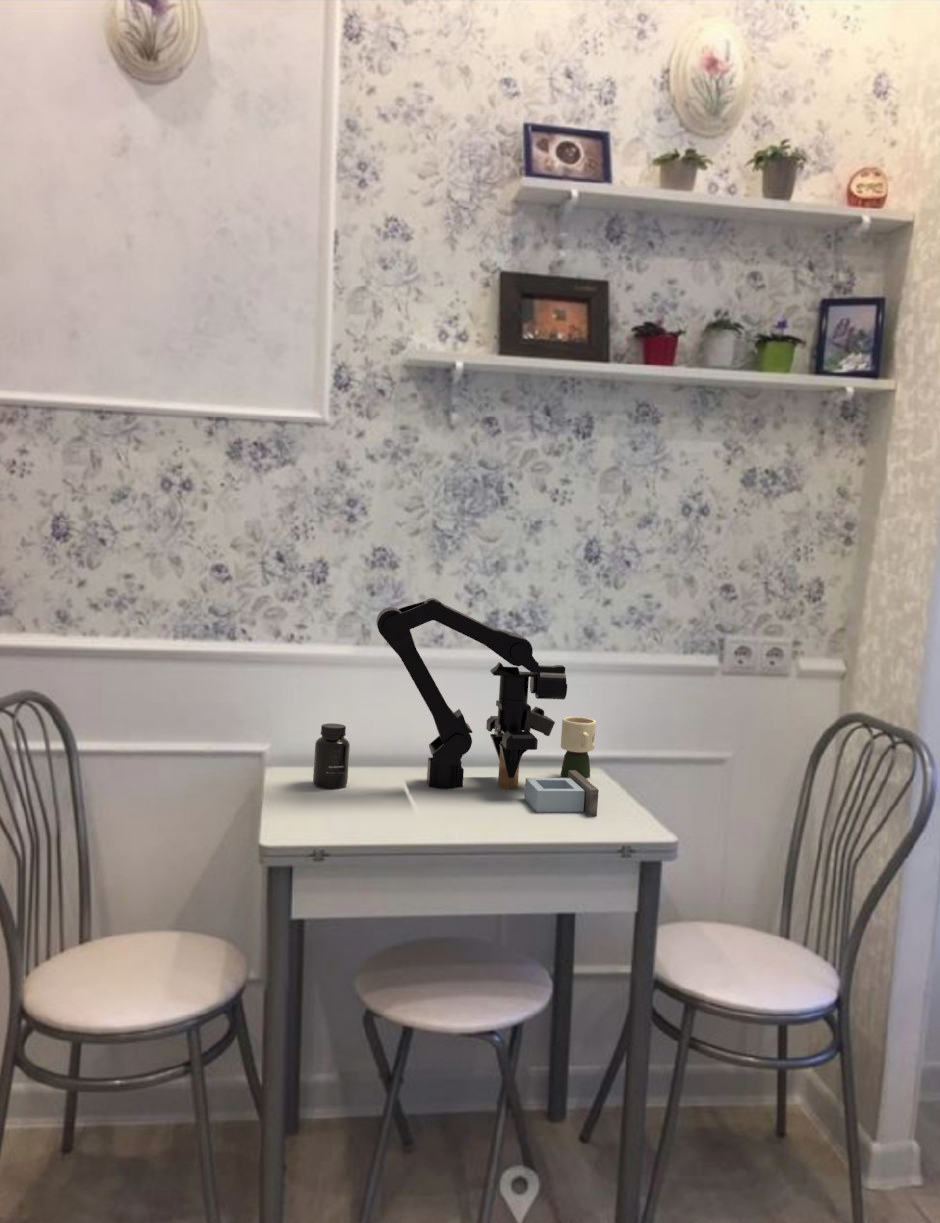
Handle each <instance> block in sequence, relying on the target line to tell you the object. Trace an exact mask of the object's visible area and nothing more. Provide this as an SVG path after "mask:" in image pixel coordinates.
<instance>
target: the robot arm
mask: <svg viewBox="0 0 940 1223" xmlns="http://www.w3.org/2000/svg"><path fill="white" fill-rule="evenodd" d="M432 621H436V622H437V623H439V624H441V625H443V626H446V627H448V628H449V629H451V630H453V631H455V632H458V633H460V634H462V635H464V636H466V637H468V638H470V639H472V640H474V641H476V642H477V643H480V644H482V645H484V646H485V647H487V648H488V649H490V650H491V651H492V652H494V653H495V654H496V655H498V657H500V658H502V659H503V660H504V661H505V662H507V663H509V664H510V665H512V666H503V664H502V662H497V664H496V665H495V666H494V667H492V668H491V669H490V671H489V672H490V673H491V675H493V677H494V676H496V677H499V688H498V689H499V693H498V700H497V699H496V701H495V706H496V707H497V715H490V716H489V717H488V718H487V719H486V724H485V727H486V730H487V731H488V732H493V730H494V732H493V733H491V734H490V738H491V740H492V743H493V747H494V748H495V752H496V755H497V758H498V761H499V760H500V749H501V753H502V756H503V760H504V763H505V767H506V771H507V774H508V777H509V778H514V776H515V774H516V771H517V768H518V765H519V766H520V761H521V759H522V756H523V755H524V753H526V752H527V751H534V750H535V751H536V750H538V741H539V740H538V738H537V737H536V736H535V735H534V734H533V733H532V732H531V729H532V730H534V731H537V732H538V733H542V734H543V735H544V736H547V737H550V736H551V733H552V730H553V728H554V726H555V723H556V721H555V720H553V719H552V718H551V717H548V716H546V715H545V710H544V709H542V708H541V707H538V706H534V708H532V707H531V705H530V704H528V699H529V698H528V696H529V695H528V694H529V692H530V694H532V695H533V694H534V696H535V699H537V700H539V699H540V700H542V699H543V700H561V701H562V700H565V699H566V697H567V692H568V683H567V675H566V667H565V665H563V664H555V665H542V664H541V665H540V664H539V663H540V662H538V661H537V660H536V659H535V657H534V656H533V650H534V649H533V646H532V644H531V642H530V641H529V640H528V639H526V637H524V636H522V635H521V634H518V633H515V632H511V631H508V630H505V629H501V628H497V627H493V626H490V625H487V624H486V623H484V622H481V621H479V620H477V619H475V618H474V617H471V616H469V615H468V614H465V613H463V612H461V611H460V610H459V611H458V610H457V609H454V608H453V607H451V606H449V605H446V604H445V603H443V602H441V601H440V600H439V599H437V598H434V597H431V598H430V597H429V598H427V599H426V600H424V601H420V602H417V603H413V604H410V605H409V604H408V605H407V606H403V607H400V608H396V607H393V606H392V607H389V606H388V607H386V608H383V609H382V610H381V611H379V613H378V615H377V618H376V626H377V631H378V633H379V634H380V635H381V636H382V638H383V639H384V640H385V642H386V643H387V644H388V645H389V646H390V647H391V649H393V651H394V653H396V654H397V655H398V657H399V658H400V659H401V662H402V663H403V665H404V666H405V669H406V671H407V672H408V674H409V676H410V678H411V679H412V681H413V683H414V685H415V687H416V689H417V690H418V692H419V694H420V696H421V697H422V699H423V701H424V703H425V704H426V706H427V708H428V710H429V711H430V713H431V715H432V717H433V721H434V724H435V726H436V730H437V733H438V736H437V737H436V738H435V739H434V740H432V741H431V743H429V744H428V747H429V751H430V754H431V756H432V757H427V772H426V785H427V786H428V788H433V789H439V790H453V789H456V788H463V787H464V770H465V769H464V767H463V766H462V758H463V756H464V755H466V754H467V753H468V752H469V751H470V749H471V747H472V746H473V745H472V744H473V739H472V735H471V734H473V730H472V729H471V726H470V725H469V723H467V721H466V720H465V717H464V714H463V712H462V711H461V709H460V708H458V709H457V710H456V711H453V710H452V709H451V707H450V706H449V705H448V703H447V702H446V700H445V699H444V697H443V695H442V693H441V691H440V689H439V688H438V686H437V684H436V682H435V680H434V678H433V676H432V675H431V673H430V671H429V669H428V667H427V665H426V664H425V662H424V660H423V658H422V657H421V655H420V653H419V651H418V649H417V647H416V644H415V641H414V638H413V635H412V632H411V629H415V628H417V627H420V626H422V625H424V624H427V623H428V622H432ZM520 666H521V667H524V668H525V669H526V670H528V671H520V669H519V667H520ZM501 741H502V743H503V744H500V743H501Z"/></svg>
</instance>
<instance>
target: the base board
mask: <svg viewBox="0 0 940 1223" xmlns="http://www.w3.org/2000/svg"><path fill="white" fill-rule="evenodd" d="M568 778H571V779H572V780H573V781H574V782H575V783H576V784H578V785H579V786H580V787H581V788H582V789H583V790H584V791H585V796H584V810H583V812H584V813H585V814H586V815H587V816H588V817H597V816H598V805H599V804H598V803H599V789H598V788H597V787H596V786H595V785H594V784H593V783H591V782H590V781H589V780H588V779H587V778H586V779H585V778H584V777H583V776H582V775H581V774H579V773H578V772H577V771H576V770H568Z"/></svg>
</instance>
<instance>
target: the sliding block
mask: <svg viewBox="0 0 940 1223" xmlns="http://www.w3.org/2000/svg"><path fill="white" fill-rule="evenodd" d="M524 784H525V785H524V800H525V801H526V802H527V803H528V804H529V805H530V807H531V808H533V811H535V812H536V813H583V812H584V811H583V810H584V796H585V791H584V790H583V789H582V788H581V787H580V786H579V785H578V784H576V783H575V782H574V781H573V780H572V779H571V778H562V777H526V778H525V783H524Z"/></svg>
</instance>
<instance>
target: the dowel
mask: <svg viewBox="0 0 940 1223" xmlns="http://www.w3.org/2000/svg"><path fill="white" fill-rule="evenodd" d="M500 744H503V743H502V741H501V743H500ZM498 761H499V764H498V778H497V779H498V780H497V788H499V789H504V790H516V789H518V788H519V773H520V764H519V765H518V768H517V771H516V774H515V776H514V778H509V777H508V774H507V771H506V767H505V763H504V760H503V756H502V753H501V749H500V760H499V759H498Z"/></svg>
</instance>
